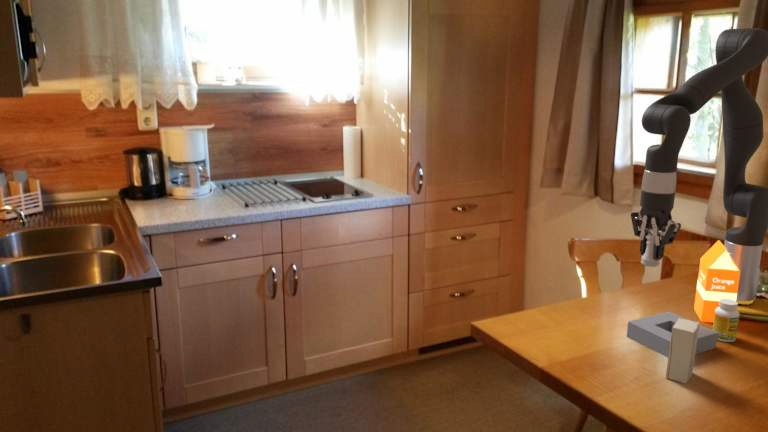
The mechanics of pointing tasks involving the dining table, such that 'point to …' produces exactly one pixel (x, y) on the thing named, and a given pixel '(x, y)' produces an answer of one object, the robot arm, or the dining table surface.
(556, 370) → the dining table surface
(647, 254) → the rook chess piece
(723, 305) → the supplement bottle
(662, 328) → the socket block
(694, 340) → the skincare box
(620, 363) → the dining table surface
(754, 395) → the dining table surface
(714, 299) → the orange juice
